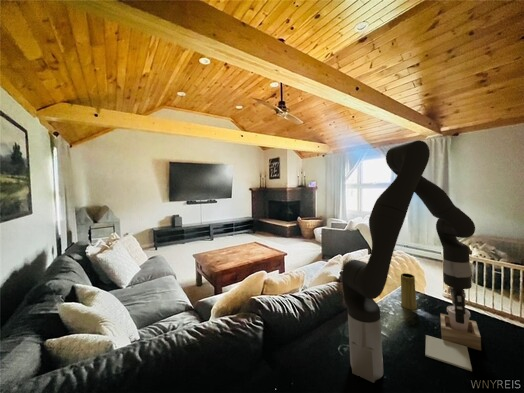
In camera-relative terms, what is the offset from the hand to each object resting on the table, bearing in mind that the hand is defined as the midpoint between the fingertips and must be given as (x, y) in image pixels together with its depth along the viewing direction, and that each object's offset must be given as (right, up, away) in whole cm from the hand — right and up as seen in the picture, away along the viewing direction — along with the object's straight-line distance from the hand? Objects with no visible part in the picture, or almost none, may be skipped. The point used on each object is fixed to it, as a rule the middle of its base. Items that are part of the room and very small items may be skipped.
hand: (458, 316), depth 79 cm
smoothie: (0, -8, 0) cm, 8 cm away
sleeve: (0, -7, 0) cm, 7 cm away
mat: (-10, -8, -6) cm, 14 cm away
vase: (-4, -7, +21) cm, 23 cm away
